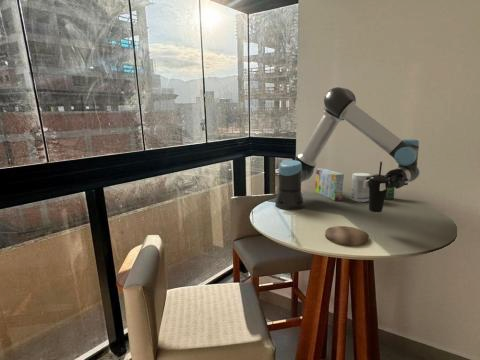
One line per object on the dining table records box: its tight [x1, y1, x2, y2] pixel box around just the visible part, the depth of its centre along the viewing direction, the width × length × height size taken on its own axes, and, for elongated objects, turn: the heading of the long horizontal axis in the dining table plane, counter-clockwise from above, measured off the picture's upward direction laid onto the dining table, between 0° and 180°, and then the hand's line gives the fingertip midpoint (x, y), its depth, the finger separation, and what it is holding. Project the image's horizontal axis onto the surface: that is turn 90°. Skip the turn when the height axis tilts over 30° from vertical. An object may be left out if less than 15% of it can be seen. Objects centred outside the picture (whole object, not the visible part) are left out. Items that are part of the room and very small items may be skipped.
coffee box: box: [385, 187, 396, 200], centre depth 164 cm, size 8×3×13 cm, turn 92°
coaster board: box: [324, 225, 370, 247], centre depth 114 cm, size 16×16×2 cm
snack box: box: [314, 167, 345, 202], centre depth 172 cm, size 21×6×15 cm, turn 17°
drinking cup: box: [368, 161, 390, 213], centre depth 116 cm, size 8×8×20 cm
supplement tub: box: [350, 172, 372, 203], centre depth 162 cm, size 10×10×15 cm
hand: (372, 185), depth 114 cm, fingers closed on drinking cup, 6 cm apart
